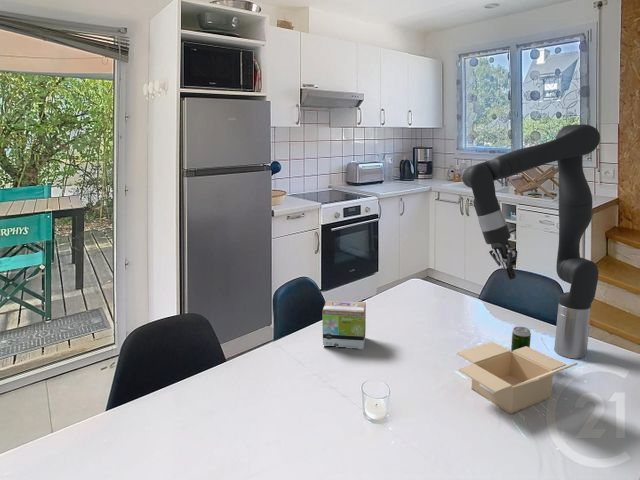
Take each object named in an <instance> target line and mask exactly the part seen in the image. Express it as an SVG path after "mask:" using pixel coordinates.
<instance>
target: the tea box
mask: <svg viewBox="0 0 640 480" xmlns="http://www.w3.org/2000/svg"><path fill="white" fill-rule="evenodd" d="M366 306H367V304H366V301H347V300H330V299H329V300H327V299H326V301H325V303H324V306H323V309H322V315H321V316H322V317H321V318H322V346H323V345H324V346H336V347H335V348H338V347H346V348H345V349H352V348H358V349H357V350H364V348H365V342H366V327H367V326H366V322H367V321H366V316H367V315H366V314H367V313H366Z"/></svg>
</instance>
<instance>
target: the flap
mask: <svg viewBox="0 0 640 480" xmlns="http://www.w3.org/2000/svg"><path fill="white" fill-rule="evenodd" d="M577 365H578V362H575V363H572V364H569V365H566V366H563V367H560V368H558V369H555V370H553V371H550V372H548V373H545V374H543V375H540V376H537V377H535V378H532V379H530V380H527V381H525V382H522V383H520V384H517V385H515V387H517V386H520V385H523V384H527V383H530V382H533V381H536V380H540V379H542V378H545V377H547V376H550V375H552V374H553V375H555V374H557V373H559V372H561V371H564V370H567V369H569V368H572V367H574V366H577Z"/></svg>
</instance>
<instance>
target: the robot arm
mask: <svg viewBox="0 0 640 480" xmlns="http://www.w3.org/2000/svg"><path fill="white" fill-rule="evenodd" d="M600 142H601V134H600V132H599V130H598V129H597V128H596V127H595V126H593V125H590V124H585V123H582V124H568V125H565V126H563V127H562V128H561V129H560V130H559V131H558V133H557V135H556V137H555V139H552V140H550V141H546V142H543V143H539V144H536V145H531V146H527V147H522V148H519V149H515V150H512V151H510V152H507V153H504V154H501V155H499V156H497V157H495V158H493V159H490V160H487V161H483V162H480V163H477V164H474V165H471V166H468V167H467V168H466V169H465V170H464V172H463V173H462V175H461V176H462V177H461V179H462V183H463V184H464V186H465V187H468V188H470V189H471V190H472V194H473V197H474V198H473V200H472V202H473V206H474V207H473V208H474V209H475V212H476V216H477V220H478V223H479V227H480V230H481V232H482V235H483V239H484V241H485V243H486V244H487V245H490V246H491V247H490V248H491V250H489V251H488V252H489V255H490V256H491V257H492V259H493V260H494V261H495V263H496V265H497V266H498V267H501V268H502V269H503V271H504V274H505V277H506V279H507V280H509V281H510V280H513V279H515V278H516V275H517V274H516V272H515V269H514V266H515V265H516V264H517V259H518V253H519V251H518V250H517V249H513V248H512V245H511V244H510V242H509V239H511V235H512V234H511V232H510V230H509V226H508V224H507V223H508V222H507V220H506V218H505V215H504V213H503V211H502V209H501V206H500V204H499V200H498V198H497V195H496V186H495V181H497V180H501V179H502V180H503V179H506V178H509V177H512V176H515V175H519V174H521V173H523V172H526V171H529V170H533V169H535V168H538V167H541V166H544V165H547V164H550V163H553V162H557V169H558V170H557V171H558V248H557V256H556V257H557V258H556V267H555V268H556V269H555V270H556V274H557V276H558V278H559V279H560V280H562V281H563V282H566V283H568V284H569V285H570V287H569V288H570V289H569V292H568V291H566V292H562V293H560V295H559V297H558V305H557V306H558V307H557V317H556V327H555V338H554V346H553V350H554V352H555V353H556V354H557V355H559V356H561V357H564V358H569V359H583V358H585V357H586V354H587V352H588V345H589V344H588V343H589V335H590V319H591V318H590V316H591V308H592V303H593V302H594V299H595V297H596V293H597V292H596V291H597V286H598V280H599V274H600V273H599V272H600V271H599V267H598V265H597V264H596V263H595V262H594V261H593V260H592V261H591V260H590V259H587V258H584V257H582V256H581V253H580V248H581V247H580V244H581V239H582V237H583V235H584V233H585V232H586V230H587V229H588V227H589V226H590V224H591V222H592V218H593V195H592V190H591V188H590V186H589V183H588V181H587V179H586V176H585V172H584V167H583V165H584V164H583V156H586V155H590V154H591V153H593V152H594V151H595V150H596V149H597V147H598V146H600V145H599V144H600Z"/></svg>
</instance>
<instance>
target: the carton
mask: <svg viewBox="0 0 640 480" xmlns="http://www.w3.org/2000/svg"><path fill="white" fill-rule="evenodd" d="M456 355H457V356H459V357H462V358H463V359H465V360H467V361H468V362H470V363H472V364H469V365H466V366H463V367H460V368H458V371H459V372H461V373H462V374H464V375H465V376H467V377H468V378H470V379H471V390H472V391H474V392H475V393H477V394H478V395H480V396H481V397H483V398H485V399H487V400H488V401H489V402H491V403H492V404H494V405H496V406H498V407H499V408H501V409H502V410H504V411H506V412H507V413H508V414H510V415H514V414H515V413H518V412H520V411H523V410H525V409H528V408H530V407H532V406H534V405H537V404H539V403H542V402H543V401H545V400H548V399H550V398H552V391H553V390H552V389H553V382H554V374H552V375H550V376H547V377H545V378H542V379H540V380H536V381H533V382H530V383H527V384H523V385H520V386H517V387H515V385H517V384H520V383H522V382H525V381H527V380H530V379H532V378H535V377H537V376H540V375H543V374H545V373H548V372H550V371H553V370H556V369H559V368H562V367H565V366H567V364H566V363H564V362H562V361H560V360H558V359H555V358H553V357H551V356H549V355H546V354H545V353H542V352H540V351H538V350H536V349H534V348H531V347H530V348H529V347H527V346H525V347H522V348H519V349H516V350H513V352H512V351H511V349H508V348H507V347H504V346H502V345H501V344H498V343H496V342H494V341H489V342H486V343H483V344H480V345H479V344H478V345H477V346H473V347H470V348H467V349H464V350H460V351H457V352H456Z"/></svg>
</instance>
